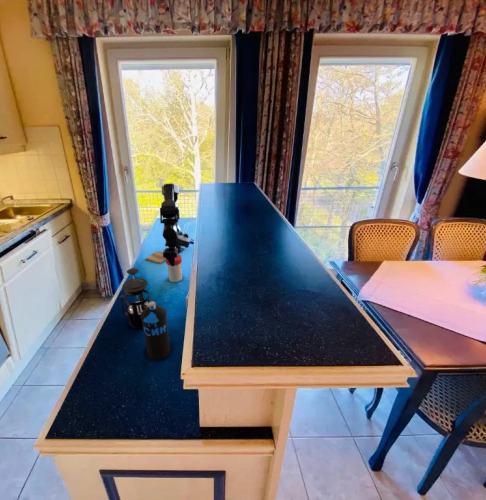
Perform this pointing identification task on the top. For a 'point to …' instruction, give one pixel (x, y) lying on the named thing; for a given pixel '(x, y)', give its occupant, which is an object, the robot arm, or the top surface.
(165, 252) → the robot arm
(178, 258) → the lid
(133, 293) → the french press
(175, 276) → the jar
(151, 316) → the aerosol can
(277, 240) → the top surface
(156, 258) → the cork mat
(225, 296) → the top surface
